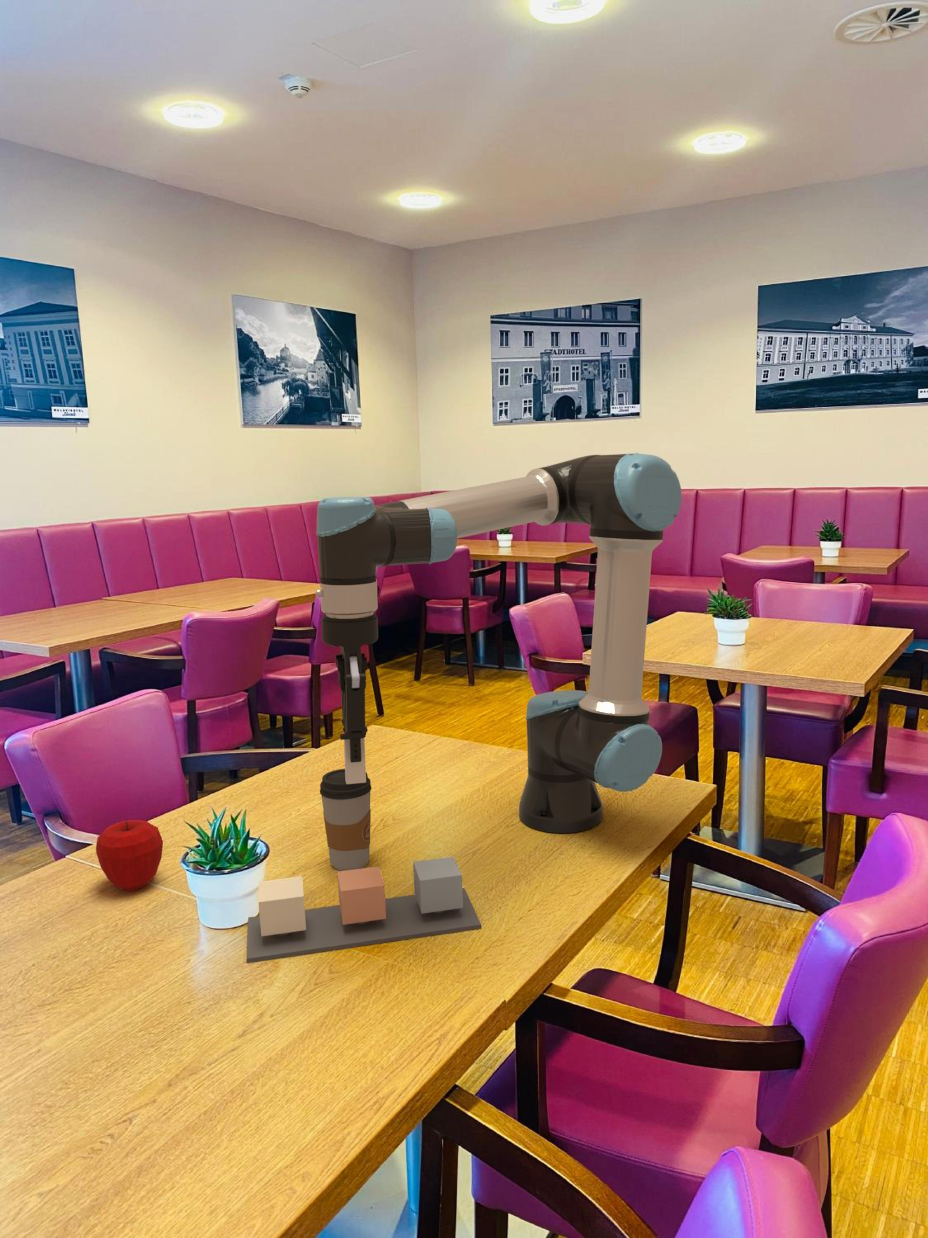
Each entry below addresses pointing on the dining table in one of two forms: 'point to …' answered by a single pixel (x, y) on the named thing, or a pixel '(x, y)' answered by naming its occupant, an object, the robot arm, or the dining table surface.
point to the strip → (358, 929)
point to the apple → (130, 853)
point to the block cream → (281, 906)
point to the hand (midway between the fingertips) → (355, 781)
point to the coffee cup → (346, 820)
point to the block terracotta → (361, 895)
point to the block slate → (438, 885)
